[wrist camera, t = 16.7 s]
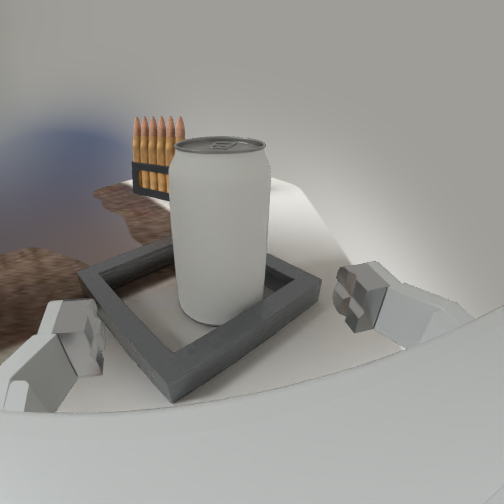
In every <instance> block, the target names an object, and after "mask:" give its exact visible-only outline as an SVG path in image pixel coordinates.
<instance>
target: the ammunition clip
mask: <svg viewBox="0 0 504 504" xmlns="http://www.w3.org/2000/svg"><path fill="white" fill-rule="evenodd" d="M133 132H134V137H133V139H134V140H133V159H134V162H132V178H133V193H136V194H141V195H145V196H149V197H153V198H158V199H162V200H166V201H170V199H169V167H170V164H171V162H172V159H173V157H174V155H175V150H176V149H175V148H174V144H175V143H177V142H179V141H182V140H185V129H184V123H183V120H182V118H181V117H179V119H178V122H177V127H176V137H175V127H174V122H173V119H172V117H171V116H170V117H169V120H168V124H167V137H166V127H165V122H164V119H163V117H160V120H159V123H158V135H157V125H156V121H155V118H154V117H152V118H151V121H150V127H148V122H147V119H146V117H144V118H143V121H142V126H140V122H139V119H138V117H136V118H135V122H134V131H133Z"/></svg>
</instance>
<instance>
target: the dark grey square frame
mask: <svg viewBox="0 0 504 504" xmlns="http://www.w3.org/2000/svg"><path fill="white" fill-rule="evenodd" d="M173 263H175V261H174V251H173V240H172V235H171V236H169V237H166V238H163V239H160V240H158V241H155V242H152V243H150V244H147V245H144V246H142V247H139V248H137V249H134V250H132V251H129V252H126V253H124V254H121V255H119V256H116V257H114V258H111V259H108V260H106V261H103V262H101V263H98V264H96V265H93V266H91V267H88V268H86V269H83V270H81V271H78V272H77V275H78V278H79V282H80V285H81V289H82V292H83V293H84V295H85V296H86V298H93V299H94V300H95V303H96V306H97V313H98V315H99V316H100V317H101V319H102V320H103V322H104V323H105V324H106V326H107V327H108V328H109V330H110V331H111V332H112V333H113V335H114V336H115V337H116V339H117V340H118V341H119V342H120V344H121V345H122V346H123V348H124V349H125V350H126V351H127V352H128V354H129V355H130V356H131V357H132V359H133V360H134V361H135V362H136V363H137V365H138V366H139V367H140V368H141V369H142V370H143V372H144V373H145V374H146V375H147V376H148V377H149V379H150V380H151V381H152V382H153V383H154V384H155V385H156V386H157V388H158V389H159V390H160V391H161V392H162V393H163V394H164V395H165V396H166V397H167V398H168V399H169V401H170V402H171V403H172V404H173V403H174V402H176V401H177V400H179V399H180V398H182V397H184V396H185V395H187V394H188V393H190V392H191V391H193V390H194V389H196V388H197V387H199V386H200V385H202V384H204V383H205V382H207V381H208V380H210V379H211V378H212V377H214V376H215V375H217V374H218V373H220V372H221V371H223V370H224V369H226V368H227V367H229V366H230V365H231V364H233V363H234V362H236V361H237V360H239V359H240V358H241V357H243V356H244V355H246V354H247V353H249V352H250V351H251V350H253V349H254V348H256V347H257V346H258V345H260V344H261V343H262V342H264V341H265V340H267V339H268V338H269V337H271V336H272V335H273V334H275V333H276V332H277V331H279V330H280V329H281V328H283V327H284V326H285V325H287V324H288V323H289V322H291V321H292V320H293V319H295V318H296V317H297V316H298V315H300V314H301V313H302V312H304V311H305V310H306V309H308V308H309V307H310V306H311V305H313V304H314V303H315V302H316V301H318V297H319V292H320V287H321V282H322V279H320V278H317V277H315V276H313V275H311V274H309V273H307V272H305V271H303V270H301V269H299V268H297V267H295V266H293V265H291V264H289V263H287V262H285V261H283V260H281V259H279V258H276V257H274V256H272V255H270V254H268V253H266V266H265V280H264V285H265V286H267V287H269V288H271V289H272V290H274V291H276V292H274V293H273V294H271V295H270V296H268V297H266V298H265V299H263V300H262V301H260V302H258V303H257V304H255V305H254V306H252V307H250V308H249V309H247V310H246V311H244V312H242V313H241V314H239V315H237V316H236V317H234V318H233V319H231V320H229V321H228V322H226V323H224V324H223V325H221V326H219V327H218V328H216V329H214V330H213V331H211V332H209V333H208V334H206V335H204V336H203V337H201V338H199V339H198V340H196V341H194V342H192V343H191V344H189V345H187V346H186V347H184V348H182V349H180V350H179V351H177V352H175V353H174V354H173V353H172V352H171V351H170V350H169V349H168V348H167V347H166V346H165V345H164V344H163V343H162V342H161V341H160V340H159V339H158V338H157V337H156V336H155V335H154V334H153V333H152V332H151V331H150V330H149V329H148V328H147V327H146V326H145V325H144V324H143V323H142V322H141V321H140V320H139V319H138V318H137V317H136V316H135V314H134V313H133V312H132V311H131V310H130V309H129V308H128V307H127V306H126V305H125V304H124V302H123V301H122V300H121V299H120V298H119V297H118V296H117V295H116V293H115V292H114V291H113V290H112V289H115V288H117V287H119V286H121V285H124V284H126V283H128V282H131V281H133V280H135V279H138V278H140V277H142V276H144V275H147V274H149V273H151V272H154V271H156V270H158V269H161V268H163V267H165V266H168V265H170V264H173Z"/></svg>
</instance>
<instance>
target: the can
mask: <svg viewBox="0 0 504 504" xmlns="http://www.w3.org/2000/svg"><path fill="white" fill-rule="evenodd" d="M265 146H266V144H265V143H264V142H262V141H259V140H255V139H250V138H242V137H227V136H226V137H225V136H223V137H222V136H217V137H200V138H192V139H186V140H182V141H179V142H177V143H175V144H174V148H175V149H176V150H175V155H174V157H173V159H172V162H171V164H170V167H169V199H170V214H171V228H172V240H173V251H174V261H175V271H176V280H177V288H178V296H179V302H180V306H181V308H182V309H183V311H184V312H185V313H186V314H187V315H188V316H190V317H191V318H193V319H194V320H196V321H198V322H200V323H202V324H205V325H210V326H221V325H223V324H224V323H226V322H228V321H229V320H231V319H233V318H234V317H236V316H237V315H239V314H241V313H242V312H244V311H246V310H247V309H249V308H250V307H252V306H254V305H255V304H257V303H258V302H260V301H262V300H263V293H264V280H265V266H266V252H267V236H268V220H269V203H270V184H271V168H270V165H269V162H268V160H267V157H266V155H265V152H264V148H265Z"/></svg>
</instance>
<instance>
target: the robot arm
mask: <svg viewBox="0 0 504 504" xmlns="http://www.w3.org/2000/svg"><path fill="white" fill-rule="evenodd" d="M336 278H337V280H338V282H339V283H338V284H337V285H336V287H335V288H334V292H333V302H334V306H335V308H336V310H337V311H338V312H339V313H340V314H342V315H344V316H346V319H345V322H346V323H347V324H348V326H349V327H350V328H351V330H352V331H353V332H354V333H358V332H362V331H366V330H370V329H374V330H375V331H377V332H379V333H381V334H382V335H384V336H386V337H387V338H389V339H391V340H392V341H394V342H396V343H397V344H399V345H401V346H402V347H404V348H406V349H405V350H403V351H400V352H397V353H395V354H392V355H389V356H386V357H384V358H381V359H378V360H375V361H372V362H369V363H366V364H363V365H360V366H357V367H354V368H350V369H347V370H344V371H341V372H337V373H334V374H330V375H327V376H323V377H320V378H316V379H313V380H309V381H305V382H301V383H297V384H293V385H289V386H285V387H281V388H277V389H272V390H268V391H263V392H258V393H254V394H249V395H244V396H239V397H233V398H228V399H222V400H216V401H210V402H204V403H197V404H190V405H182V406H174V407H166V408H156V409H146V410H134V411H120V412H99V413H55V412H56V410H57V409H58V407H59V406H60V404H61V403H62V401H63V400H64V398H65V397H66V395H67V394H68V392H69V391H70V389H71V388H72V386H73V385H74V384H75V382H76V381H77V379H78V377H85V376H98V375H103V361H104V359H103V356H102V353H101V352H102V351H103V350H104V349H105V335H104V329H103V325H102V321H101V319H99V318H98V317H97V316H96V315H97V306H96V303H95V300H94V299H93V298H83V299H69V300H56V301H50V302H49V303H48V305H47V307H46V310H45V313H44V316H43V319H42V322H41V325H40V328H39V331H38V334H37V335H33V336H32V337H31V338H29V339H28V340H27V341H26V342H25V343H24V344H23V345H22V346H21V347H20V348H18V349H17V350H16V351H15V352H14V353H13V354H12V355H11V356H10V357H9V358H8V359H7V360H5V361H4V362H3V363H2V364H1V365H0V504H504V305H503V306H501V307H499V308H497V309H495V310H493V311H491V312H489V313H487V314H485V315H483V316H481V317H479V318H477V319H474V318H473V317H472V316H470V315H469V314H468V313H467V312H466V311H465V310H464V309H463V308H462V307H461V306H460V305H459V304H458V303H456V302H453V301H450V300H448V299H445V298H443V297H440V296H438V295H435V294H432V293H429V292H427V291H424V290H422V289H419V288H417V287H414V286H411V285H409V284H406V283H403V284H402V283H401V282H400V281H399V280H397V279H396V278H395V277H394V276H393V275H392V274H391V273H390V272H389V271H388V270H386V269H385V268H384V267H383V266H382V265H381V264H380V263H379V262H376V261H373V262H367V263H363V264H359V265H352V266H346V267H340V269H339V270H338V272H337V277H336Z"/></svg>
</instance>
